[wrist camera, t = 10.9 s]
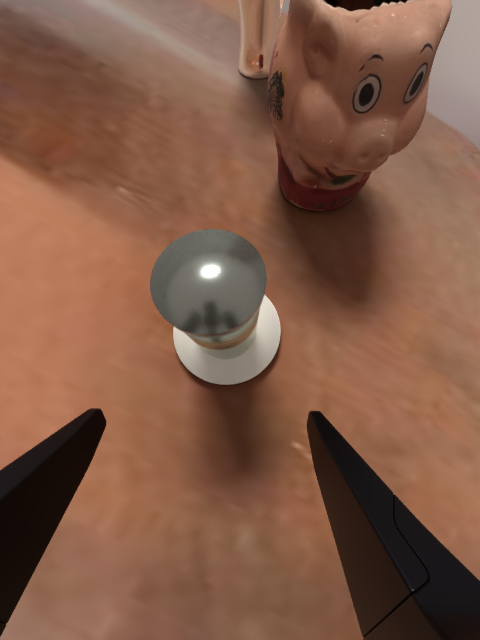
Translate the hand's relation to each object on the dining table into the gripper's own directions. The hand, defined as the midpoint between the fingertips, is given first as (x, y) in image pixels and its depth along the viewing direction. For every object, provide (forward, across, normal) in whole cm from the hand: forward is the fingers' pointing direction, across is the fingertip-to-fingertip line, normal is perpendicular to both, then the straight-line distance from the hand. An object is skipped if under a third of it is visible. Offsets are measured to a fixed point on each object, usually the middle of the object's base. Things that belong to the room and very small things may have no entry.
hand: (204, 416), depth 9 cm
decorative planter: (+26, -10, -12) cm, 30 cm away
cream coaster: (+12, 0, +2) cm, 12 cm away
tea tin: (+11, 0, +2) cm, 11 cm away
